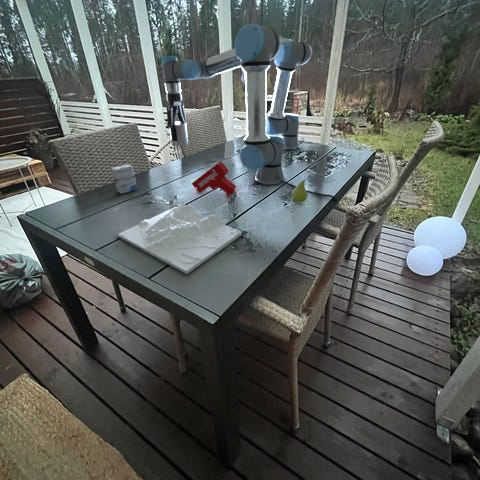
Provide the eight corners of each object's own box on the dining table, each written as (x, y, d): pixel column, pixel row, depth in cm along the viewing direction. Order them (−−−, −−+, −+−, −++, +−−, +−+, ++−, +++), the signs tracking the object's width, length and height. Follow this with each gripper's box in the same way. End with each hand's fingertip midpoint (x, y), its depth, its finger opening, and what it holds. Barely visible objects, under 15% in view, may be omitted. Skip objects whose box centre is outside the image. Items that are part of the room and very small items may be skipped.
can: (190, 142, 154) (188, 121, 149) (185, 146, 147) (182, 124, 141) (175, 142, 156) (172, 121, 150) (169, 146, 148) (166, 124, 142)
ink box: (133, 186, 138) (127, 163, 132) (137, 189, 135) (132, 165, 129) (116, 191, 133) (110, 167, 127) (121, 194, 130) (114, 170, 124)
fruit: (288, 200, 123) (290, 174, 116) (302, 197, 125) (305, 172, 119) (296, 206, 118) (299, 179, 111) (310, 203, 120) (314, 177, 114)
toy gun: (240, 187, 127) (221, 160, 123) (237, 190, 124) (218, 163, 120) (214, 205, 137) (195, 180, 133) (210, 208, 134) (191, 183, 130)
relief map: (186, 274, 80) (184, 260, 77) (118, 236, 97) (114, 224, 95) (241, 234, 98) (241, 222, 95) (176, 209, 116) (174, 198, 113)
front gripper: (178, 91, 147) (183, 134, 159) (155, 94, 130) (162, 142, 142) (190, 91, 145) (194, 135, 157) (168, 94, 128) (175, 143, 140)
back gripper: (236, 59, 203) (236, 91, 214) (257, 58, 185) (256, 93, 197) (244, 59, 206) (244, 90, 218) (265, 58, 189) (264, 92, 200)
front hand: (179, 138), depth 150 cm, fingers closed on can, 9 cm apart
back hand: (250, 92), depth 207 cm, fingers open, 13 cm apart
